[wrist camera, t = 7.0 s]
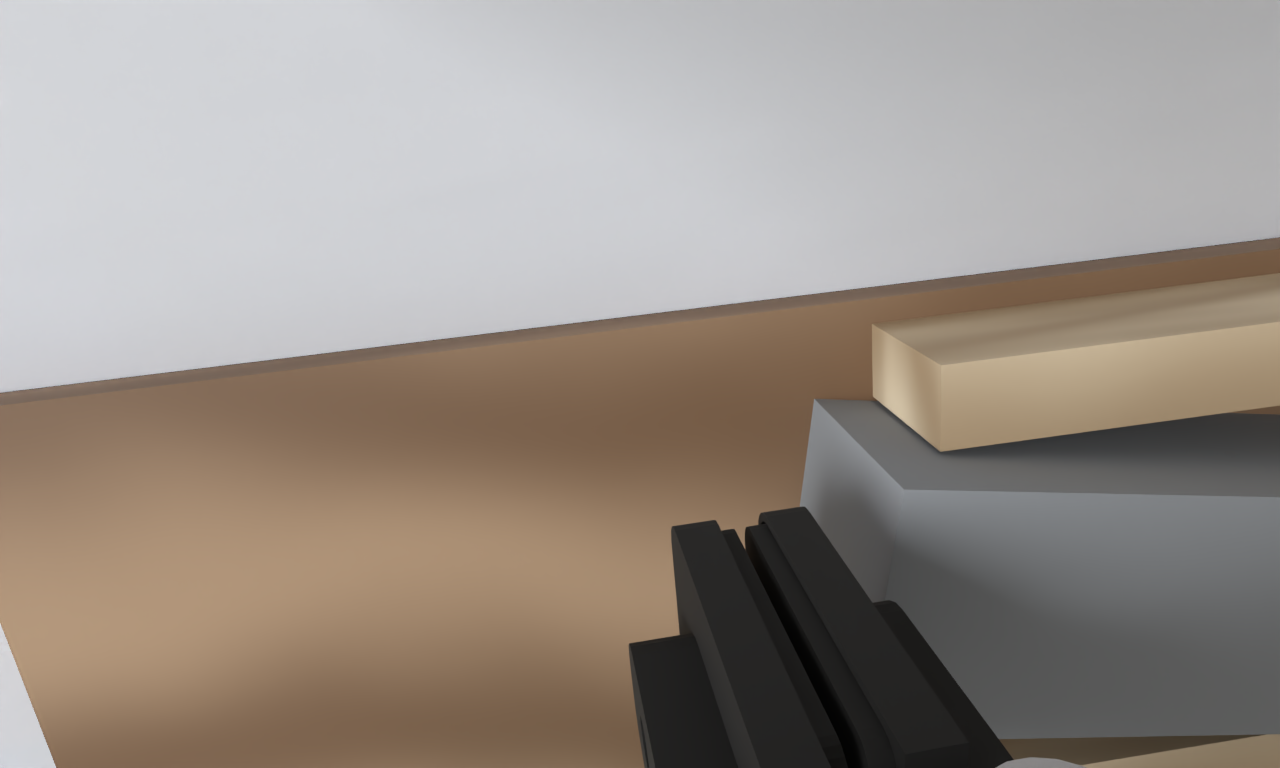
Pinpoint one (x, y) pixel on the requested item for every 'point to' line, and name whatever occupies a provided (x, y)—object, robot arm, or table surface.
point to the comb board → (532, 506)
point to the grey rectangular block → (1072, 565)
